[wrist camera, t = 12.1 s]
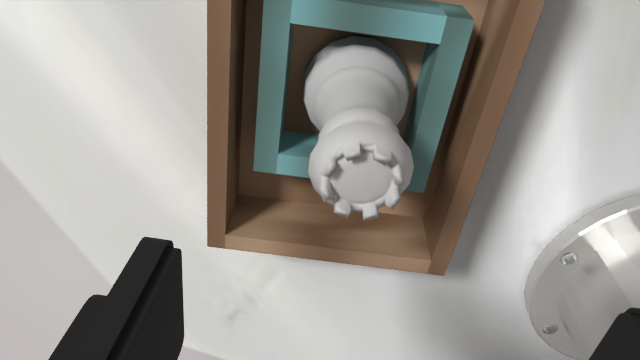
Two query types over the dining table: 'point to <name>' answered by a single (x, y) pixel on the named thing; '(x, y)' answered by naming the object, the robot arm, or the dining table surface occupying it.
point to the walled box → (302, 135)
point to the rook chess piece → (358, 125)
